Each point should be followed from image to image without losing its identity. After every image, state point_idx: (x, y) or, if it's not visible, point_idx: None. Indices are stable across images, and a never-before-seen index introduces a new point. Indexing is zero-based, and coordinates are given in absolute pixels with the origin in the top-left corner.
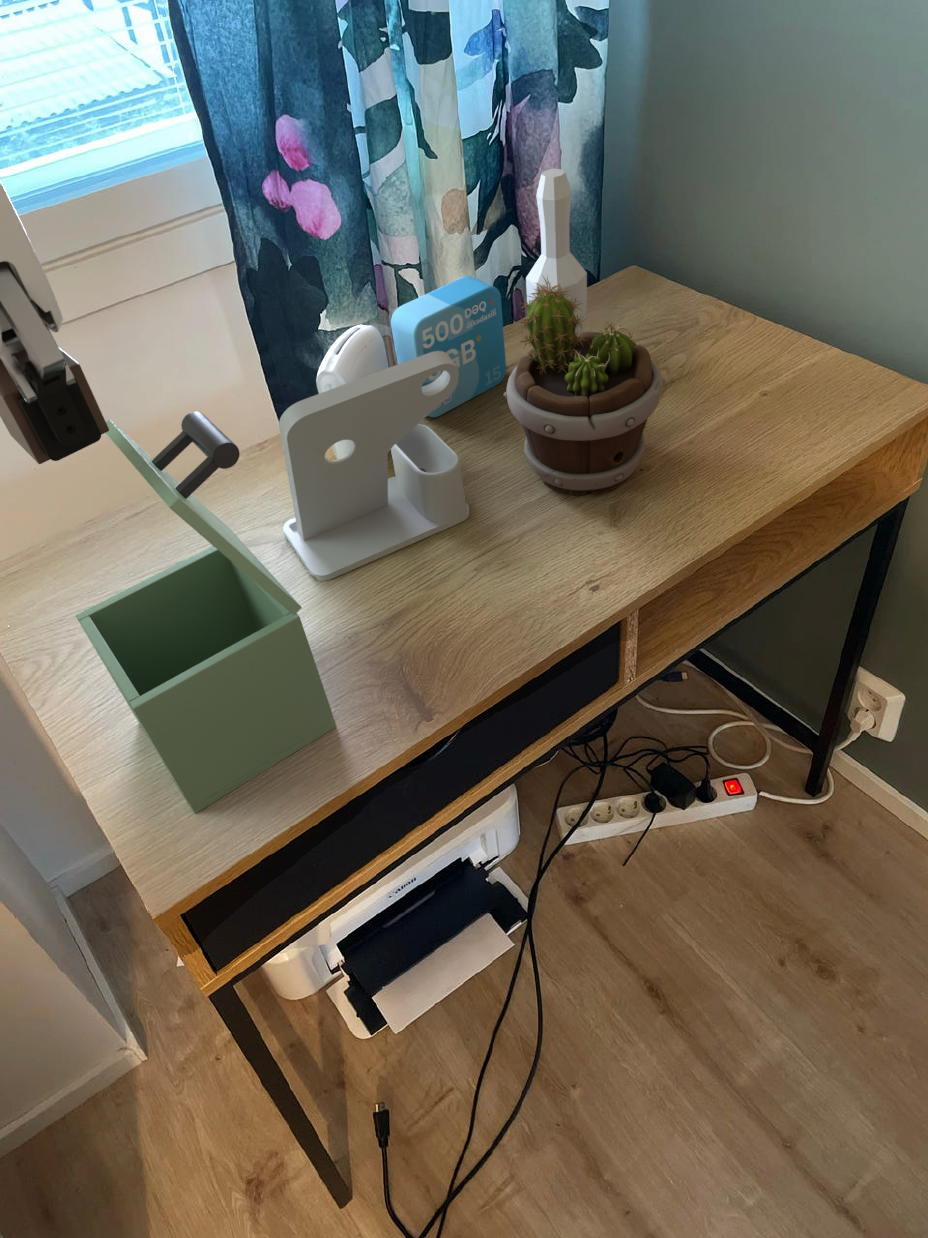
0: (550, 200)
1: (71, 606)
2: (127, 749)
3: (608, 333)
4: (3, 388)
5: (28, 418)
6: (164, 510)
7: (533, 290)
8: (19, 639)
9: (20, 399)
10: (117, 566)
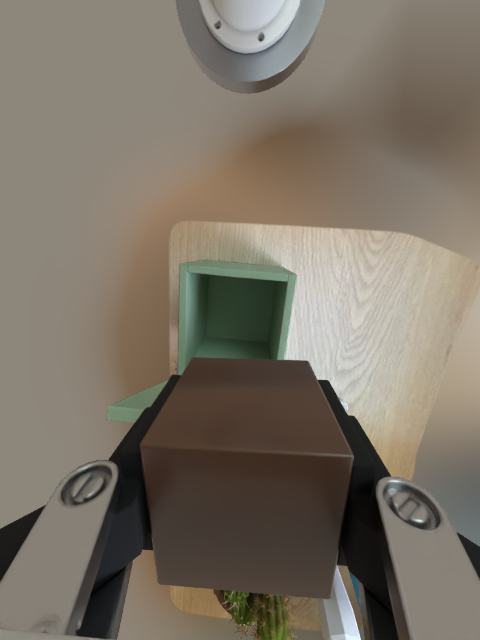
0: None
1: (406, 280)
2: (270, 253)
3: (246, 624)
4: (183, 461)
5: (144, 422)
6: (433, 366)
7: (347, 628)
8: (410, 241)
9: (137, 457)
10: (412, 319)
